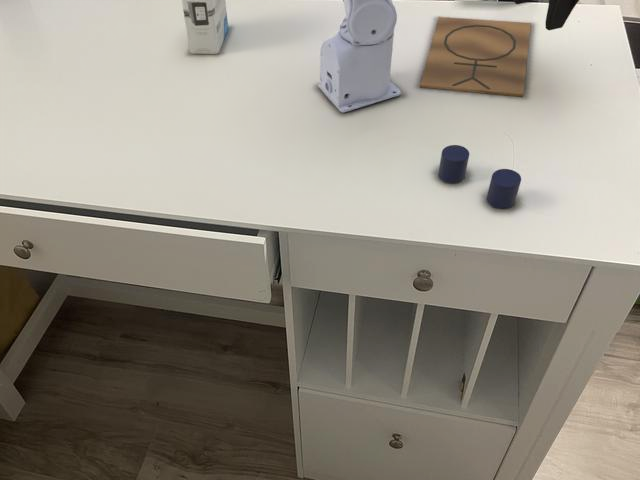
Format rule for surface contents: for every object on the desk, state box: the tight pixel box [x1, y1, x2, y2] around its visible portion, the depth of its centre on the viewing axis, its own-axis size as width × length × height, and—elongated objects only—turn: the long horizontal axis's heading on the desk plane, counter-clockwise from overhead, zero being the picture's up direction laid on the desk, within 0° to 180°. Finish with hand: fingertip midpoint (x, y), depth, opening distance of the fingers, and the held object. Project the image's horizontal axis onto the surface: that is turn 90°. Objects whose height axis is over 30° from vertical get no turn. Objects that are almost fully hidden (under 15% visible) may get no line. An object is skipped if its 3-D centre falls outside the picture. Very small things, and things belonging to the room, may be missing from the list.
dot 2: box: [486, 168, 522, 210], centre depth 77 cm, size 3×3×3 cm
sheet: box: [419, 16, 532, 98], centre depth 99 cm, size 20×14×1 cm
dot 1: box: [437, 144, 470, 184], centre depth 81 cm, size 3×3×3 cm
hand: (537, 14), depth 87 cm, fingers open, 7 cm apart
